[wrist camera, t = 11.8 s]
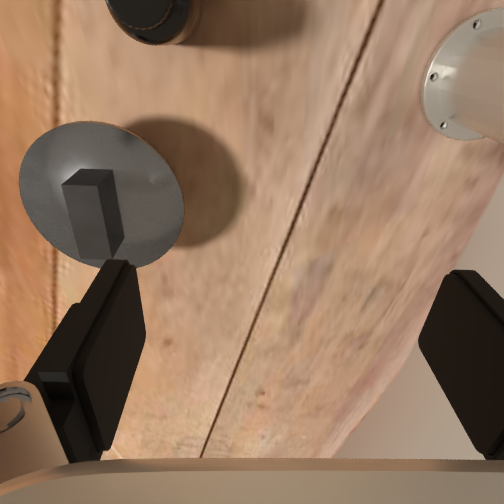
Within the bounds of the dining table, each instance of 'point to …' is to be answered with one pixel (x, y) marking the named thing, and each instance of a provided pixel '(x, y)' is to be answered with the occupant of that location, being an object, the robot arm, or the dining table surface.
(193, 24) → the supplement bottle
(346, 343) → the dining table surface
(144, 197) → the lid
